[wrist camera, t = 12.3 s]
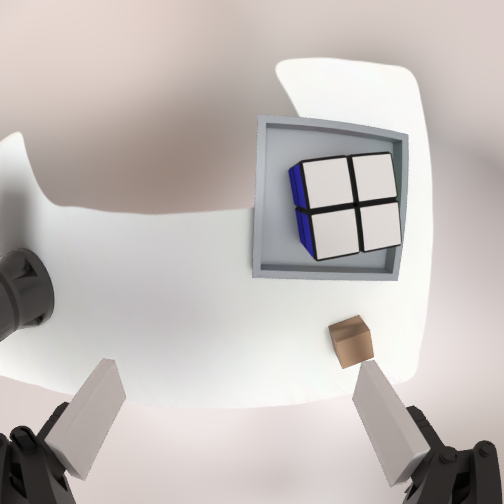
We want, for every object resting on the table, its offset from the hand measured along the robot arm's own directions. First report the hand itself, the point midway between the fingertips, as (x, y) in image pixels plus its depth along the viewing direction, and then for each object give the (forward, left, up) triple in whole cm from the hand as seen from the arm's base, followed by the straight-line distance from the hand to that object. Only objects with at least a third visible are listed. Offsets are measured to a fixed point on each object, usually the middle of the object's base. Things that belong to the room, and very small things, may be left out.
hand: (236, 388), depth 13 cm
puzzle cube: (+10, +9, -25) cm, 29 cm away
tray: (+10, +9, -26) cm, 29 cm away
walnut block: (+15, -11, -26) cm, 32 cm away
